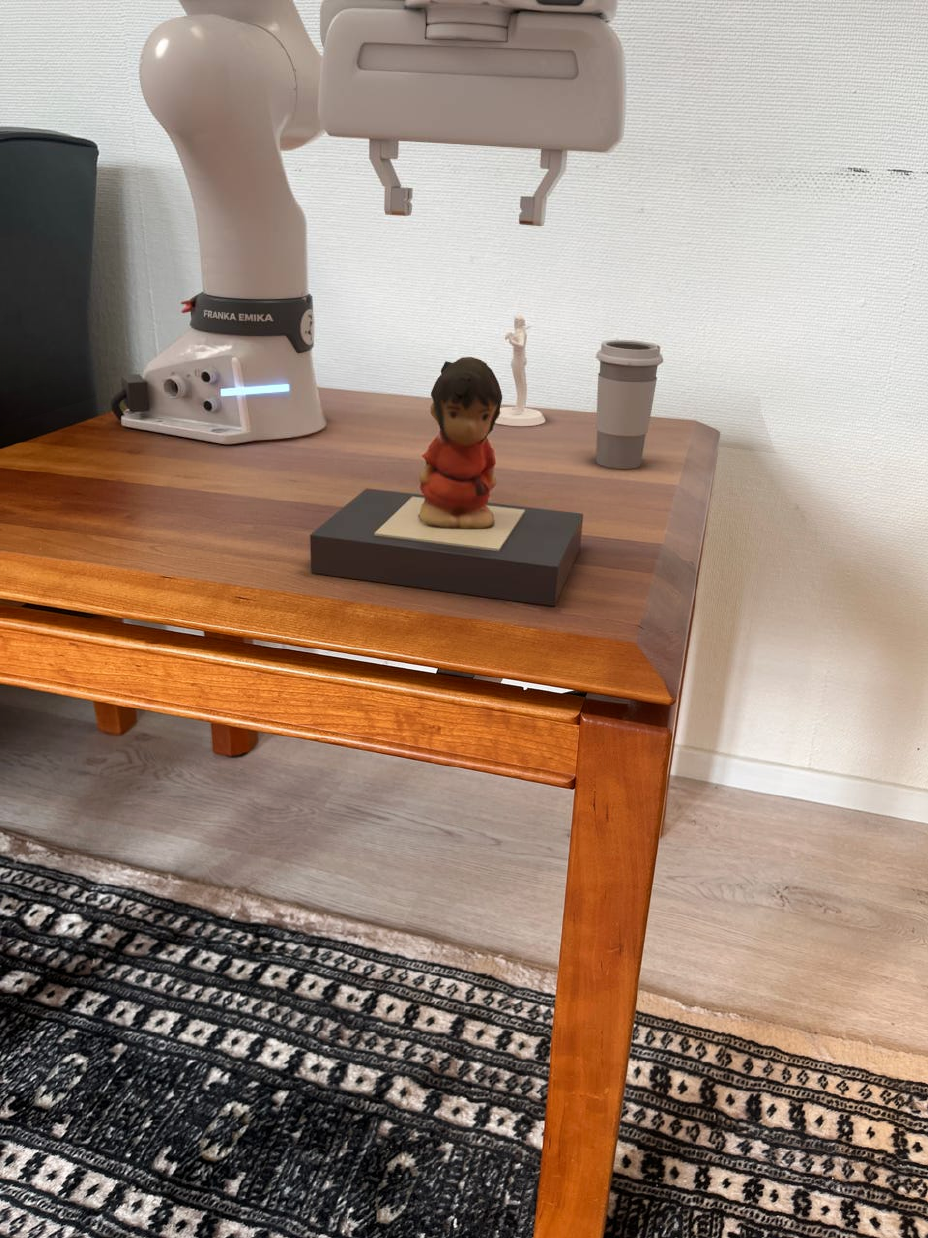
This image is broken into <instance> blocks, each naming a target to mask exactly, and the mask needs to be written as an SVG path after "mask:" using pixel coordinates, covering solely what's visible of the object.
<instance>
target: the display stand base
mask: <svg viewBox="0 0 928 1238" xmlns="http://www.w3.org/2000/svg"><path fill="white" fill-rule="evenodd" d="M424 500H425V499H424V495H423V494H419V493H418V494H417V493H410V492H400V491H393V490H384V489H375V488H365V489H364V490H363V491H361V492H360V493H359V494H358V495H357V496H356V497H354V498H352V500H350V502H348V503H347V504H346V505H345V506H343V507H342V508H341V509H339V510H338V511H337V512H336V513H334V515H332V516H331V517H329V518H328V519H327V520H326V521H325V522H324V523H323V524H321V525H320V526H319V527H317V528H316V529H315V530H314V531H312V532H311V533H310V535H309V546H310V548H309V549H310V573H311V574H315V575H316V574H317V575H323V576H324V575H325V576H331V577H339V578H345V579H353V580H359V581H366V582H367V581H368V582H375V583H381V584H388V585H394V586H395V585H396V586H403V587H410V588H418V589H424V590H434V591H439V592H446V593H453V594H461V595H467V596H468V595H469V596H476V597H483V598H490V599H498V600H505V601H511V602H517V603H518V602H520V603H526V604H533V605H541V606H549V607H555V606H556V604H557V601H558V600H559V598H560V595H561V593H562V590H563V588H564V586H565V583H566V582H567V579H568V577H569V575H570V573H571V570H572V568H573V565H574V563H575V562H576V559H577V557H578V554H579V552H580V550H581V544H582V543H581V542H582V531H583V521H584V514H583V513H581V512H573V511H563V510H555V509H548V508H547V509H546V508H539V507H538V508H537V507H528V506H520V505H513V504H502V503H496V502H487V503H486V505H487V507H488V508H489V509H490V510H491V511H492V513H493V515H494V520H495V522H494V524H495V525H494V526H493V527H491V528H485V529H461V528H449V527H445V526H434V525H429V524H427V523H424V522H422V521H421V520H420V518H419V517H418V515H419V513H420V510H421V506H422V504H423V502H424Z"/></svg>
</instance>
